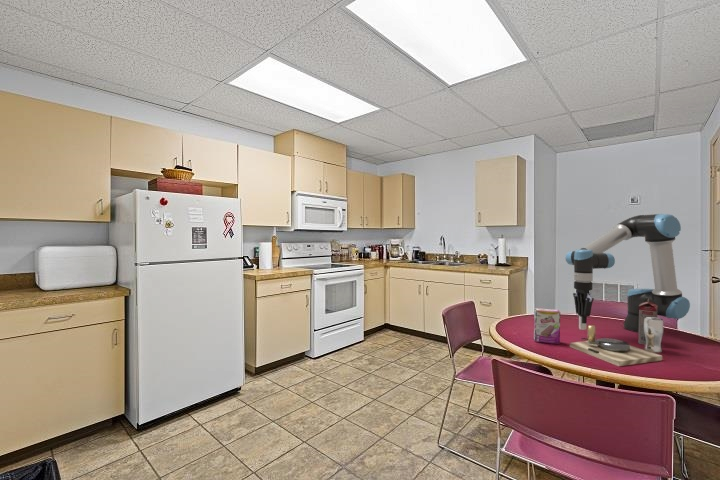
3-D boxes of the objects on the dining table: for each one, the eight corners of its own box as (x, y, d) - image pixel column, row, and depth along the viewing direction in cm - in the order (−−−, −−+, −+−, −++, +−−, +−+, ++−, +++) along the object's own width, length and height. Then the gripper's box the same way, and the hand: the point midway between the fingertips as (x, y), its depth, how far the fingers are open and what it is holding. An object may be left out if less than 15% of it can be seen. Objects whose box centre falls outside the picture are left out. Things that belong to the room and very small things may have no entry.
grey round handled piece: (623, 344, 159) (624, 325, 158) (634, 353, 147) (634, 332, 147) (578, 340, 165) (578, 321, 165) (584, 348, 154) (584, 328, 154)
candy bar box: (535, 342, 170) (535, 310, 169) (533, 339, 175) (533, 307, 174) (560, 344, 166) (560, 311, 166) (558, 341, 171) (558, 309, 170)
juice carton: (638, 343, 167) (639, 299, 166) (639, 340, 172) (640, 297, 171) (656, 346, 162) (657, 301, 162) (656, 343, 167) (657, 299, 167)
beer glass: (666, 353, 153) (667, 320, 153) (649, 352, 155) (649, 320, 154) (656, 348, 160) (657, 316, 160) (639, 347, 162) (640, 316, 161)
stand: (609, 342, 169) (609, 337, 169) (662, 360, 146) (662, 354, 145) (569, 347, 163) (569, 341, 163) (618, 366, 140) (618, 359, 140)
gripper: (567, 279, 171) (567, 325, 172) (583, 283, 158) (582, 333, 159) (583, 279, 170) (582, 325, 171) (599, 283, 157) (599, 333, 158)
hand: (582, 329), depth 165 cm, fingers closed
